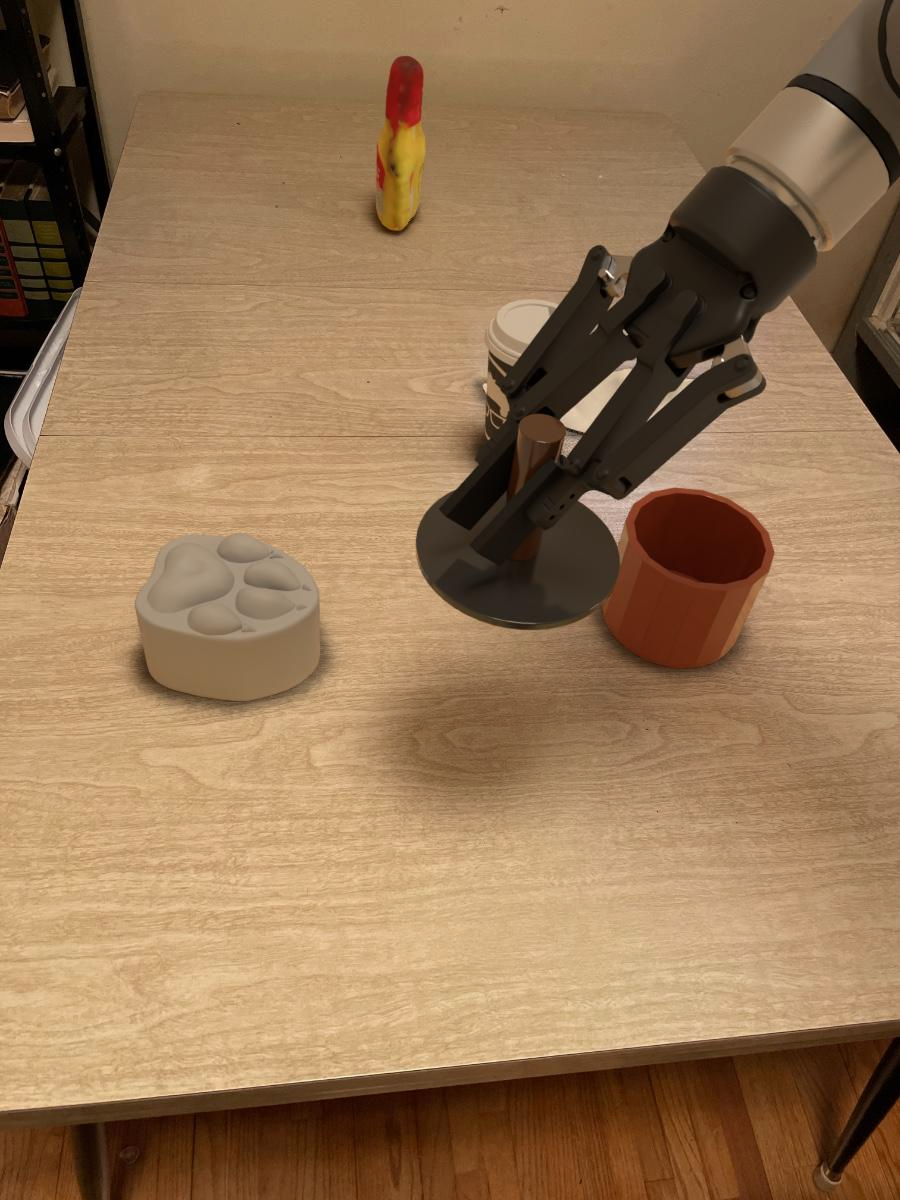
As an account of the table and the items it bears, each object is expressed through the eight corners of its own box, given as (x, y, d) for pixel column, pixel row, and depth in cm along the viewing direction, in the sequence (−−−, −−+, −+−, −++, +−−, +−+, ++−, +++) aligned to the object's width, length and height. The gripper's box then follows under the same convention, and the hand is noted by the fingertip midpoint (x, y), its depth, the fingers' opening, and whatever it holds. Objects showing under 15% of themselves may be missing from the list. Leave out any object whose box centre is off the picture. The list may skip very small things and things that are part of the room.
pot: (762, 650, 82) (803, 572, 75) (643, 682, 78) (674, 603, 71) (691, 556, 89) (722, 477, 82) (578, 582, 85) (600, 501, 79)
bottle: (413, 241, 126) (425, 77, 111) (365, 234, 126) (370, 69, 111) (425, 202, 134) (437, 44, 119) (380, 195, 134) (387, 36, 119)
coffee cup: (546, 496, 93) (576, 363, 82) (454, 467, 95) (472, 332, 84) (573, 442, 99) (604, 311, 89) (486, 415, 101) (506, 284, 90)
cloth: (484, 431, 99) (487, 413, 98) (480, 357, 109) (483, 339, 107) (730, 449, 101) (737, 431, 99) (705, 374, 110) (711, 357, 109)
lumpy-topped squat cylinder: (179, 589, 80) (167, 511, 74) (332, 613, 80) (333, 538, 74) (135, 685, 73) (118, 609, 67) (303, 713, 73) (301, 639, 67)
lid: (653, 610, 58) (701, 480, 50) (460, 659, 54) (482, 525, 46) (560, 479, 66) (591, 349, 58) (386, 513, 62) (394, 378, 54)
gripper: (897, 319, 49) (578, 643, 54) (694, 189, 58) (434, 480, 63) (871, 238, 43) (514, 612, 48) (648, 106, 52) (365, 436, 57)
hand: (470, 537), depth 55 cm, fingers closed on lid, 3 cm apart
